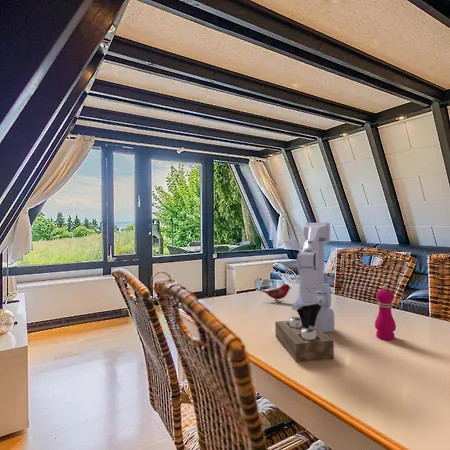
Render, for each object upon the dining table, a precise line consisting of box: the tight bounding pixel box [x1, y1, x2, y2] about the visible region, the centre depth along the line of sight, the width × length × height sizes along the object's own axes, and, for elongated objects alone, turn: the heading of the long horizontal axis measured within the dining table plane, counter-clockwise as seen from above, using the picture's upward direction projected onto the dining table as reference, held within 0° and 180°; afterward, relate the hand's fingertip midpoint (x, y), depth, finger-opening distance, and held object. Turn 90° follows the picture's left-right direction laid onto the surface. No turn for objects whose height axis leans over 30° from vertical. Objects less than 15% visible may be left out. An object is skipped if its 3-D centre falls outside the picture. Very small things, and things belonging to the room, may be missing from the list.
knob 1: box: [288, 316, 303, 328], centre depth 124 cm, size 5×5×6 cm
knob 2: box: [301, 328, 316, 341], centre depth 112 cm, size 5×5×6 cm
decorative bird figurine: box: [259, 283, 291, 303], centre depth 177 cm, size 3×18×10 cm, turn 72°
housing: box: [274, 320, 335, 363], centre depth 118 cm, size 13×22×6 cm, turn 8°
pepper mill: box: [374, 284, 397, 341], centre depth 125 cm, size 7×7×20 cm
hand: (308, 326), depth 112 cm, fingers closed
